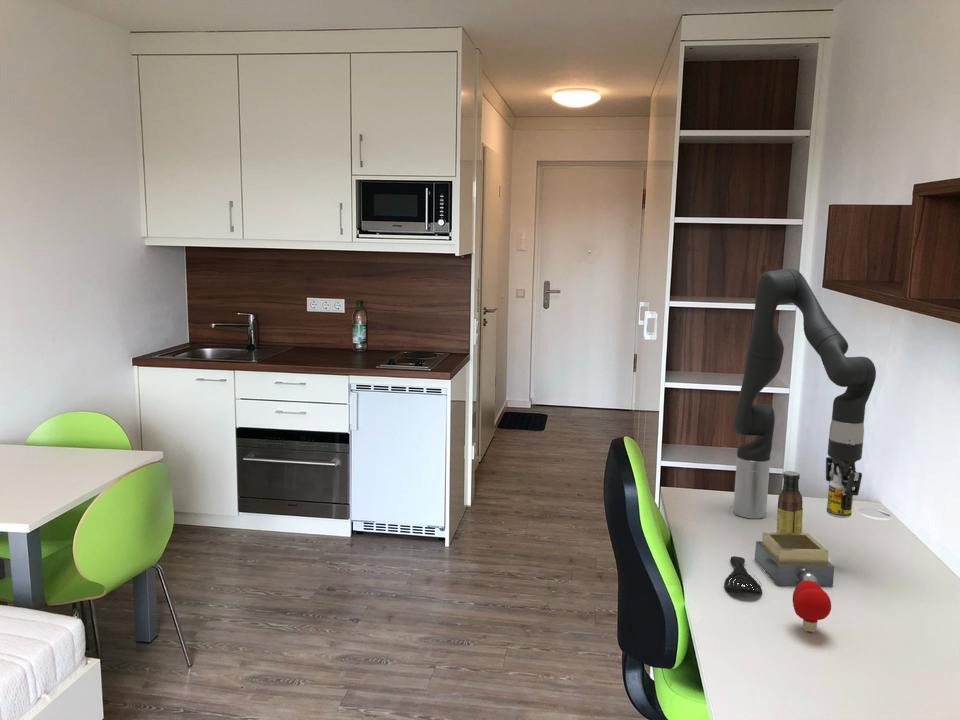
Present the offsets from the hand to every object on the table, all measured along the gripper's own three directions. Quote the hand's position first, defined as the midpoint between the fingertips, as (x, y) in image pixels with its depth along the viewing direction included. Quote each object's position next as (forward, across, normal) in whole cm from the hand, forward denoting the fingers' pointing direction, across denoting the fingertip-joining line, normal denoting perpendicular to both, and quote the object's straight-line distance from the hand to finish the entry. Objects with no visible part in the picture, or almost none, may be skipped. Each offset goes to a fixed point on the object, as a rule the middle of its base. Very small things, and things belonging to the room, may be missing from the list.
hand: (839, 505), depth 187 cm
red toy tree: (+16, +33, -20) cm, 42 cm away
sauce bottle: (+16, -14, -6) cm, 22 cm away
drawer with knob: (+16, +6, -12) cm, 21 cm away
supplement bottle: (+3, 0, 0) cm, 3 cm away
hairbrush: (+16, +8, -26) cm, 32 cm away
